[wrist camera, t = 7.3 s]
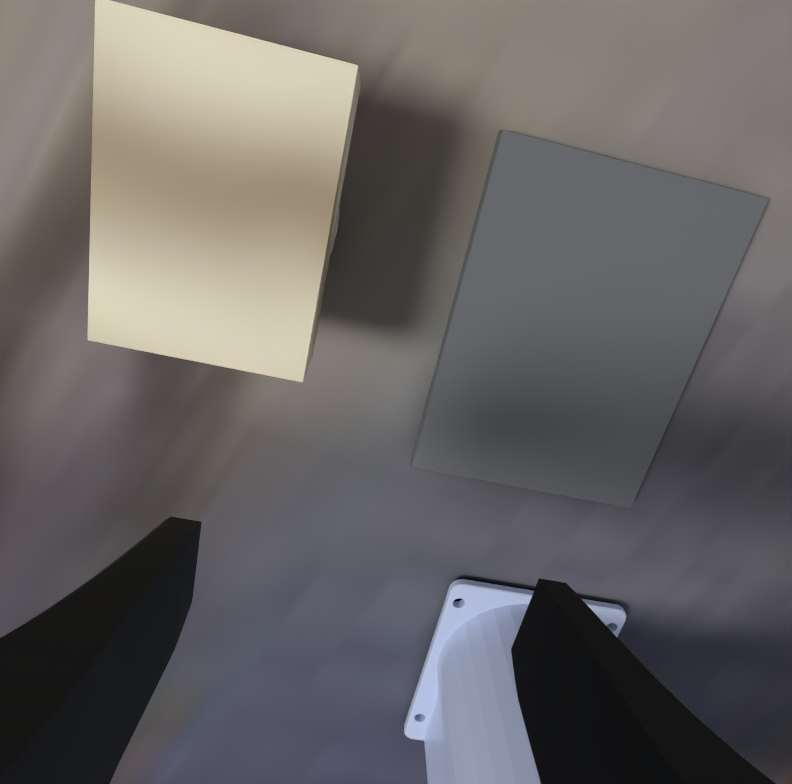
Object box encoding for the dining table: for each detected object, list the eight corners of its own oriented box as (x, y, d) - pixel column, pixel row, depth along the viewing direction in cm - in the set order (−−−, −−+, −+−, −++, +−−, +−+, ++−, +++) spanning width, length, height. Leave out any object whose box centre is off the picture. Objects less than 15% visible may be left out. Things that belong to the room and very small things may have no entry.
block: (312, 354, 17) (302, 382, 15) (127, 317, 16) (87, 339, 14) (361, 81, 14) (358, 65, 12) (141, 25, 14) (95, -4, 11)
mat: (624, 500, 23) (630, 508, 22) (411, 460, 22) (411, 467, 21) (757, 197, 18) (769, 198, 18) (499, 130, 18) (503, 129, 17)
